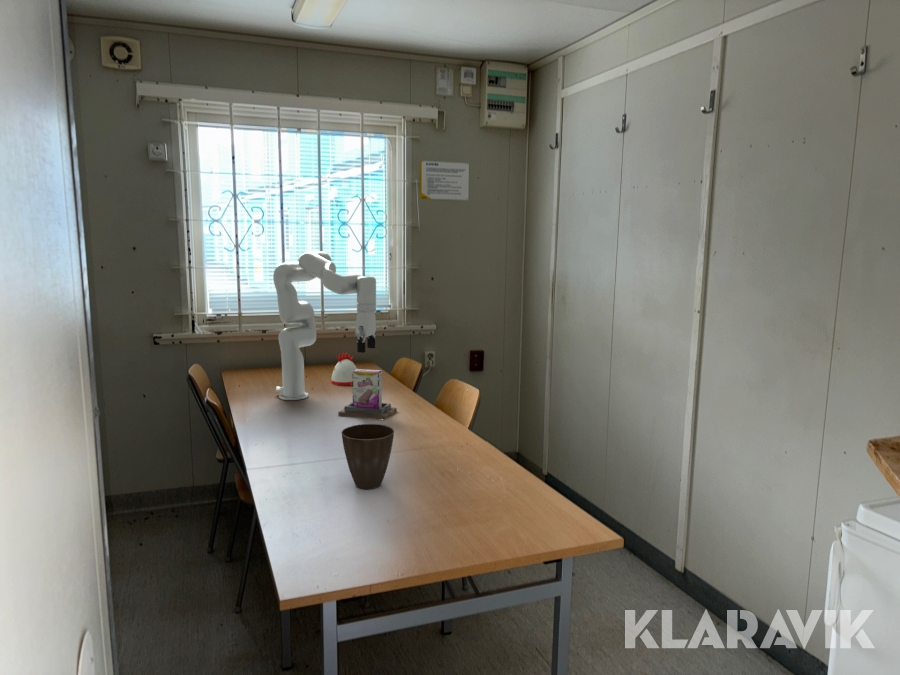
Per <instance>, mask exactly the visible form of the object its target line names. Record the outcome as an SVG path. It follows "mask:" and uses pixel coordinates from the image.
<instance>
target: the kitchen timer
mask: <svg viewBox="0 0 900 675" xmlns="http://www.w3.org/2000/svg"><path fill="white" fill-rule="evenodd" d="M336 359H337V360H338V362H337V363H336V365H335V366H334V367H333V371H332V374H331V377H330V378H331V379H330V380H331V384H332V385H334V384H335V386H342V385H346V386H353V371H354V370H355V369H358V368H357V366H356V365H355V363H354V362H353V359H354V356H351V354H348V352H346V353H345V352H342V354H341V353H339V354H338V356H336Z"/></svg>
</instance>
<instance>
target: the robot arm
mask: <svg viewBox="0 0 900 675" xmlns="http://www.w3.org/2000/svg"><path fill="white" fill-rule="evenodd" d="M272 277H273V279H272V280H273V283H274V287H275V291H276V295H277V296H276V298H277V306H278V313H279V319H280V322H281V323H283V324H285V325H291V324H298V325H296V326H290V327H288V326H287V327H285V328H283V329H281V331H280V332H279V333H278V338H277V340H278V344H279V349H280V357H281V376H282V377H281V380H282V384H281V385H282V386H276V388H275V392H276V393H277V392H279V393H280V394H279V395H278V396H279V399H280V400H284V401H298V400H299V401H301V400H304V399H307V398H308V397H309V393H308V392H307V391H305V387H306V386H305V362H304V360H305V358H304V355H303V352H302V351H301V348H304V347H310V346H312V345H314V343H315V342H316V341H317V327H316V324H317V323H316V317H315V310H314V307H313V306H312V305H311V303H309V302H308V301H305V300H299V298H298V292H297V289H296V287H295V286H294V285H293V283H294V282H297V283H299V282H308V281H309V282H310V281H312V280H314V279H316V278H318V279H319V280H320V281H321V283H322V285H323V287H325V288H326V289H327V290H328V291H331V292H333V293H334V294H337V295H351V294H352V295H353V294H355V295H356V311H357V312H356V318H355V336H356V345H357V346H356V347H357V353H361V354H362V353H363V354H364V353H366V348H368V349H375V348H376V334H377V325H376V324H377V322H376V321H377V320H376V312H377V279H376V278H375V277H374V276H367V275H365V276H364V275H362V274H346V275H345V274H344V275H342V274H341V275H340V274H337V266H336V264H335V263H334V262H333V260H332V257H331V255H329V253H327V252H326V251H305V252H303V253H302V254H300V256H299V257H298V260H297V261H290V262H289V261H286V262H283V263H280V264H278V265H277V266H276V267H275V269H274V271H273V275H272ZM366 338H367V344H366ZM366 345H367V347H366Z"/></svg>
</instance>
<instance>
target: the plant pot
mask: <svg viewBox="0 0 900 675" xmlns="http://www.w3.org/2000/svg"><path fill="white" fill-rule="evenodd" d="M394 434H395V430H394V429H393V427H391V426H388V425H384V424H377V423H363V424H357V425H356V424H355V425H351V426H348V427H346V428H343V430H341V439H342V444H343V449H344V450H343V451H344V454H345V459H346V463H347V465H348V466H347V467H348V469H349V472H350V476H351V478H352V481H353V482H354V485H355V487H356V488H358V489H361V490H374V489H377V488H379V487H381V485H382V484H383V481H384V479H385V476H386V472H387V469H388V465H389V462H390V458H391V457H390V456H391V454H392V446H393V442H394V436H395V435H394Z"/></svg>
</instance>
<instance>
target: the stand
mask: <svg viewBox="0 0 900 675" xmlns="http://www.w3.org/2000/svg"><path fill="white" fill-rule="evenodd" d="M343 407H344V408H343V409H341V410H339V411H338V415H340V416H339V417H348V416H350V417H349V418H351V417H352V418H358V417H361V419H369V418H371V420H379V419H383V420H382V421H385V420H387V419H388V418H390V417H391V416H392V415H394V414H395V413H397V410H398V409H397V407H393V406H392V404H391V403H386V402H382V408H381V409H373V408H362V407H353V401H352V402H350V403H348V404H347V405H345V406H343ZM394 412H395V413H394ZM393 413H394V414H393ZM389 416H390V417H389ZM386 418H387V419H386Z"/></svg>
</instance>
